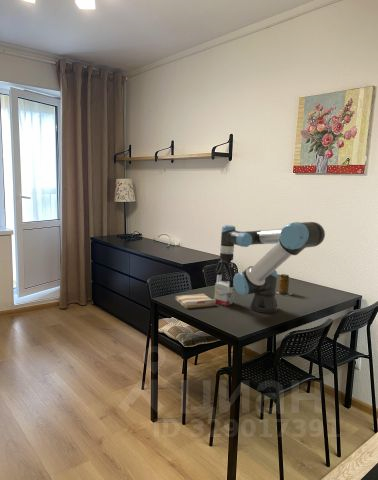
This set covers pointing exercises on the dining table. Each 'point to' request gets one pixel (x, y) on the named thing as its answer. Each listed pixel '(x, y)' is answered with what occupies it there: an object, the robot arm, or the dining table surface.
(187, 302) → the shelf board
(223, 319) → the dining table surface
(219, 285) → the ink box
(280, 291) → the condiment
